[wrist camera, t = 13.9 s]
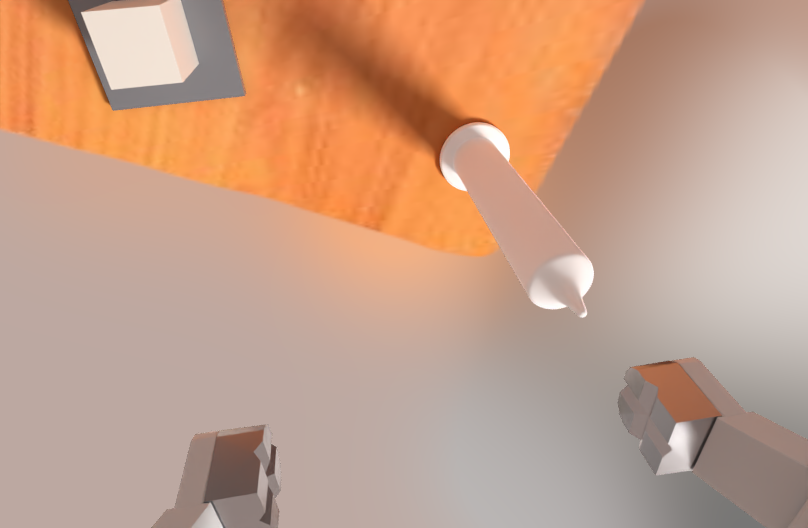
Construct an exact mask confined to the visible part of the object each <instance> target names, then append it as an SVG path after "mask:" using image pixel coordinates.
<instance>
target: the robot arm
mask: <svg viewBox="0 0 808 528" xmlns="http://www.w3.org/2000/svg"><path fill="white" fill-rule="evenodd" d="M624 380H625V381H626V383H627V384H628V385H627V386H626V387H625V388H624V389H623V390H622V391H621V392H620V395H619V399H618V407H619V414H620V416H621V419H622V422H623V423H624V425H625V427H626V429H627V430H628V432H629V433H630V434H632V435H634V436H635V437H637V438H639V439H640V447H639V450H640V451H641V453H642V455H643V456H644V458H645V459H646V461H647V463H648V464H649V466H650V467H651V469H652V470H653V472H654V474H655V475H662V474H668V473H675V472H682V471H689V470H693V471H692V472H693V473H694V474H695V475H697V476H698V477H699V478H701V479H702V480H703V481H705V482H706V483H707V484H709V485H710V486H711V487H713V488H714V489H716V490H717V491H718V492H719V493H721V494H722V495H723V496H725V497H726V498H727V499H729V500H730V501H732V502H733V503H734V504H735V505H737V506H738V507H739V508H741V509H742V510H744V511H745V512H746V513H748V514H749V515H750V516H751V517H753V518H754V519H755V520H757V521H758V522H760V523H761V524H762V525H764V526H765V527H766V528H808V440H807V439H806V438H804V437H802V436H800V435H798V434H796V433H794V432H792V431H790V430H788V429H786V428H784V427H782V426H780V425H778V424H776V423H774V422H772V421H770V420H768V419H766V418H764V417H762V416H760V415H758V414H756V413H754V412H745V410H744V409H743V408H742V407H741V406H740V405H739V404H738V403H737V402H736V400H735V399H734V398H733V397H732V396H731V395H730V394H729V393H728V391H727V390H726V389H725V388H724V387H723V386H722V385H721V384H720V383H719V381H718V380H717V379H716V378H715V377H714V376H713V375H712V374H711V373H710V371H709V370H708V369H707V368H706V367H705V366H704V365H703V364H702V362H701V361H699V360H698V359H696V358H694V357H692V358H685V359H679V360H673V361H663V362H658V363H652V364H646V365H640V366H634V367H630V368H629V369H628V370H627V371H626V373H625V376H624ZM271 441H272V432H271V430H270V427H269V425H259V426H252V427H244V428H236V429H228V430H221V431H214V432H207V433H200V434H195V436H194V437H193V439H192V441H191V443H190V447H189V451H188V455H187V459H186V463H185V467H184V471H183V475H182V479H181V483H180V487H179V492H178V495H177V500H176V503H175V508H172V509H167V510H166V511H165V512H164V514H163V515H162V516H161V517H160V518H159V519H158V521H157V522H156V523H155V524H154V525H153V526H152V527H151V528H278V520H279V509H278V506H277V503H276V501H275V498H276V496H277V495H278V493H279V492H280V490H281V466H280V459H279V454H278V451H277V447H276V446H274V445H272V444H271Z"/></svg>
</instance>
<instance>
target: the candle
mask: <svg viewBox="0 0 808 528" xmlns="http://www.w3.org/2000/svg"><path fill="white" fill-rule="evenodd" d="M509 157H510V148H509V144H508V141H507V139H506V137H505V136H504V134H503V133H502V132H501V131H500V130H499V129H498V128H496V127H495V126H493V125H491V124H488V123H483V122H474V123H469V124H466V125H463V126H461V127H460V128H458V129H456V130H455V131H454V132H453V133H452V134H451V135H450V136H449V137H448V138H447V139H446V141H445V143H444V144H443V147H442V149H441V153H440V168H441V171H442V173H443V175H444V177H445V179H446V180H447V181H448V182H449V183H450V184H451V185H452V186H454V187H455V188H457V189H460V190H464V191H468V193H469V195H470V196H471V198H472V200H473V202H474V203H475V205H476V207H477V209H478V210H479V212H480V214H481V215H482V217H483V219H484V221H485V222H486V224H487V226H488V228H489V229H490V231H491V233H492V235H493V236H494V238H495V240H496V241H497V243H498V245H499V247H500V248H501V250H502V252H503V254H504V255H505V257H506V258H507V260H508V262H509V264H510V266H511V267H512V269H513V271H514V273H515V274H516V276H517V278H518V280H519V281H520V283H521V285H522V286H523V288H524V290H525V292H526V293H527V295H528V297H529V298H530V300H531V301H532V302H533V303H534V304H536V305H537V306H539V307H542V308H546V309H559V308H564V307H568V308H569V309H571V310H572V311H573V312H574V313H576V314H577V315H578V316H579V317H585V316H586V315H587V311H586V308H585V305H584V302H583V299H582V297H583V296H584V295H585V293H586V292H587V291H588V290H589V288H590V286H591V284H592V281H593V277H594V270H593V266H592V263H591V262H590V260H589V259H588V258H587V257H586V255H585V254H584V253H583V252H582V251H581V249H580V248H579V247H578V246H577V244H576V243H575V242H574V241H573V240H572V238H571V237H570V236H569V235H568V233H567V232H566V231H565V230H564V229H563V227H562V226H561V225H560V224H559V223H558V221H557V220H556V219H555V218H554V216H553V215H552V214H551V213H550V212H549V210H548V209H547V208H546V207H545V206H544V204H543V203H542V202H541V201H540V200H539V198H538V197H537V196H536V195H535V193H534V192H533V191H532V190H531V189H530V187H529V186H528V185H527V184H526V182H525V181H524V180H523V179H522V178H521V176H520V175H519V174H518V173H517V172H516V170H515V169H514V168H513V167H512V166H511V164H510V163H509Z"/></svg>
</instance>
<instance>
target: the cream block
mask: <svg viewBox="0 0 808 528" xmlns="http://www.w3.org/2000/svg"><path fill="white" fill-rule="evenodd" d="M81 14H82V16H83V19H84V21H85V24H86V27H87V29H88V32H89V34H90V37H91V39H92V42H93V44H94V47H95V50H96V52H97V55H98V57H99V60H100V62H101V65H102V67H103V70H104V72H105V75H106V78H107V80H108V83H109V85H110V88H111V90H114V89H124V88H134V87H143V86H153V85H163V84H173V83H182V82H184V81H185V79H186V78H187V77H188V76H189V75H190V74H191V73H192V71H193V70H194V69H195V68H196V67H197V66H198V64H199V62H198V59H197V55H196V52H195V48H194V45H193V41H192V38H191V34H190V31H189V27H188V24H187V20H186V17H185V13H184V10H183V6H182V3H181V0H120V1H111V2H108V3H105V4H103V5H100V6H97V7H94V8H91V9H89V10H86V11H83V12H81Z"/></svg>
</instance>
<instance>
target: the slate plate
mask: <svg viewBox="0 0 808 528" xmlns="http://www.w3.org/2000/svg"><path fill="white" fill-rule="evenodd" d="M68 1H69V4H70V6H71V9H72V11H73V14H74V16H75V19H76V21H77V24H78V26H79V29H80V31H81V33H82V36H83V38H84V41H85V43H86V46H87V48H88V51H89V53H90V56H91V58H92V61H93V63H94V66H95V68H96V70H97V73H98V75H99V78H100V80H101V83H102V85H103V88H104V90H105V93H106V95H107V98H108V100H109V103H110V105H111V107H112V110H113V111H114V110H123V109H132V108H141V107H150V106H159V105H168V104H177V103H186V102H195V101H204V100H213V99H222V98H231V97H240V96H245V94H246V92H245V88H244V83H243V79H242V75H241V71H240V67H239V63H238V59H237V55H236V51H235V47H234V43H233V39H232V35H231V31H230V27H229V23H228V19H227V15H226V11H225V7H224V3H223V0H181V3H182V6H183V10H184V13H185V17H186V20H187V24H188V27H189V31H190V34H191V38H192V41H193V45H194V48H195V52H196V55H197V59H198V62H199V64H198V66H197V67H196V68H195V69H194V70H193V71H192V73H191V74H190V75H189V76H188V77H187V78H186V79H185V81H184V82H182V83H173V84H163V85H153V86H143V87H134V88H124V89H114V90H111V88H110V85H109V83H108V80H107V78H106V75H105V72H104V70H103V67H102V65H101V62H100V60H99V57H98V55H97V52H96V50H95V47H94V44H93V42H92V39H91V37H90V34H89V32H88V29H87V27H86V24H85V21H84V19H83V16H82V14H81V12H83V11H86V10H89V9H91V8H94V7H97V6H100V5H103V4H105V3H108V2H111V1H120V0H68Z"/></svg>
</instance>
